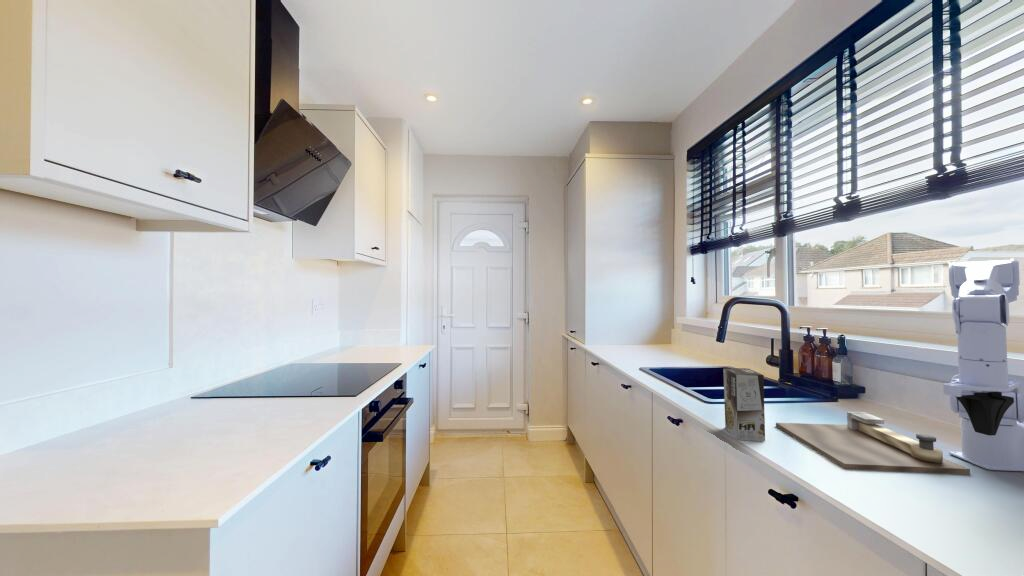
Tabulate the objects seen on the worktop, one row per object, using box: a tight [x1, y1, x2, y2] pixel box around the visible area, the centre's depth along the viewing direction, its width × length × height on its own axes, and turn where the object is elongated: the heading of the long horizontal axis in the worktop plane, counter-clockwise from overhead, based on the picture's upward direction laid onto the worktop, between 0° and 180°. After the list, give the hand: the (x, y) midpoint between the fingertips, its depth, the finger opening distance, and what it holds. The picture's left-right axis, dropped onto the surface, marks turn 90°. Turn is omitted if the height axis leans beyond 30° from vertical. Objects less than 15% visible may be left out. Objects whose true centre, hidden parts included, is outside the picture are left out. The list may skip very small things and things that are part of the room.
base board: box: [775, 411, 971, 475], centre depth 87 cm, size 22×25×5 cm
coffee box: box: [723, 367, 766, 442], centre depth 96 cm, size 9×6×16 cm
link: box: [859, 422, 944, 463], centre depth 85 cm, size 18×4×4 cm, turn 172°
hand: (985, 433), depth 69 cm, fingers closed
